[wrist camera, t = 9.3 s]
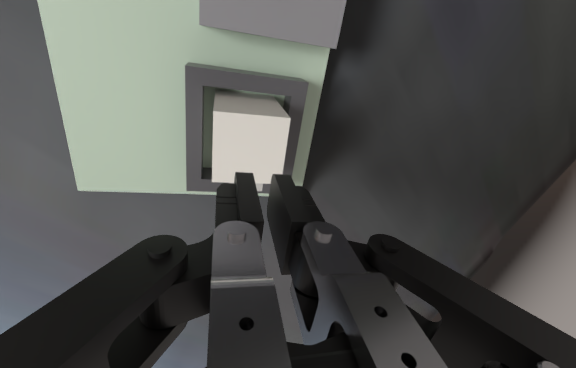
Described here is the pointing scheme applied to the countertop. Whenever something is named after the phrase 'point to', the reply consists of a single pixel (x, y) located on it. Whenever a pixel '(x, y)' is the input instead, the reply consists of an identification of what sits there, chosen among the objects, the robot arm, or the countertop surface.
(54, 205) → the countertop surface
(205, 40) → the circuit board
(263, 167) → the plug
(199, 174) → the header socket
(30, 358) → the robot arm
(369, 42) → the countertop surface
